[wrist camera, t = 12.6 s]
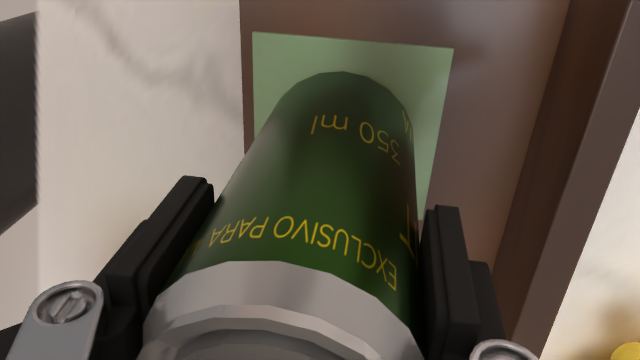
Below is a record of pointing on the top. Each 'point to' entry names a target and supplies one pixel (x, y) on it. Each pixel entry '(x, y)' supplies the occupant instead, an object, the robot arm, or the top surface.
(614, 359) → the teapot
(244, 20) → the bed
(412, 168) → the beer can
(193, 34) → the top surface
